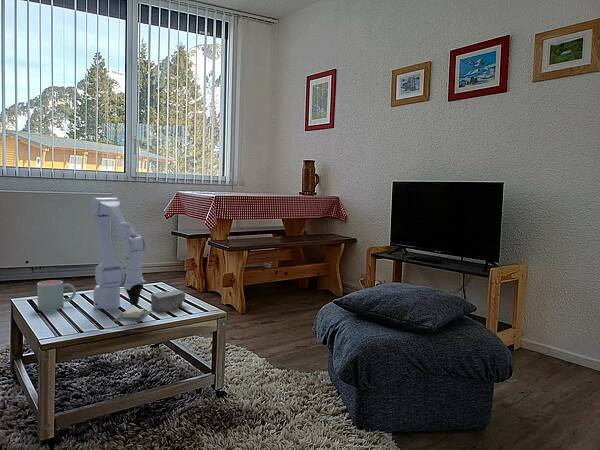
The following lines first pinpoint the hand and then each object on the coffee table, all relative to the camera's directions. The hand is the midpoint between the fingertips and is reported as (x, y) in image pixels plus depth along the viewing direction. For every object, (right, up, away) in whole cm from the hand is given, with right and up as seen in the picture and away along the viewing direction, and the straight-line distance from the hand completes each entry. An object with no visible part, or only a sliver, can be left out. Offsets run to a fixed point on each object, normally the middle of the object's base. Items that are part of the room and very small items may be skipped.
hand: (134, 304), depth 180 cm
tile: (0, -3, +2) cm, 4 cm away
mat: (0, -5, -1) cm, 5 cm away
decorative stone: (+9, -4, +12) cm, 15 cm away
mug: (-35, -3, +12) cm, 37 cm away
